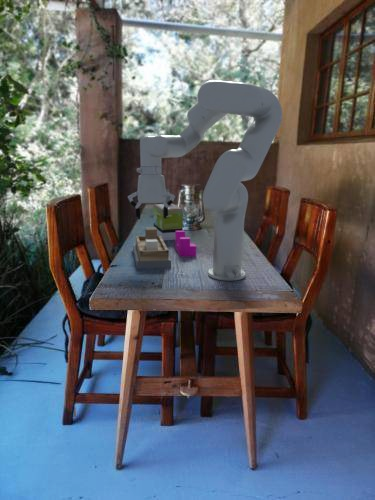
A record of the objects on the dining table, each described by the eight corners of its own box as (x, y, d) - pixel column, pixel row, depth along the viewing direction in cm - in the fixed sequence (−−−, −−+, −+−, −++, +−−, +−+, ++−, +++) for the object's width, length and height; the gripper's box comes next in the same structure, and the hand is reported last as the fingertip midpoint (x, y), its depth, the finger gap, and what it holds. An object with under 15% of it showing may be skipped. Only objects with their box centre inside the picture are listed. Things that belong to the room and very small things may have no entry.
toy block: (195, 257, 158) (196, 238, 157) (180, 257, 157) (180, 238, 156) (189, 247, 173) (190, 230, 171) (175, 247, 172) (175, 230, 170)
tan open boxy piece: (168, 260, 142) (168, 235, 139) (140, 261, 140) (139, 235, 138) (160, 243, 165) (160, 222, 162) (135, 244, 163) (135, 222, 160)
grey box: (157, 252, 144) (158, 241, 143) (146, 252, 143) (146, 241, 142) (156, 249, 148) (156, 238, 147) (145, 249, 147) (145, 239, 146)
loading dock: (171, 268, 143) (171, 260, 142) (137, 269, 140) (137, 261, 140) (162, 249, 167) (162, 242, 167) (133, 250, 165) (132, 243, 164)
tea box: (152, 233, 196) (152, 203, 192) (172, 232, 200) (172, 203, 196) (162, 240, 183) (162, 208, 179) (182, 239, 186) (183, 207, 182)
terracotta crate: (64, 405, 174) (64, 413, 175) (65, 410, 171) (66, 418, 172) (73, 403, 176) (74, 411, 177) (75, 408, 173) (75, 416, 174)
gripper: (127, 172, 140) (128, 220, 144) (176, 172, 143) (176, 219, 147) (126, 171, 147) (128, 217, 152) (173, 170, 150) (173, 216, 155)
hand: (152, 218), depth 150 cm, fingers open, 9 cm apart
